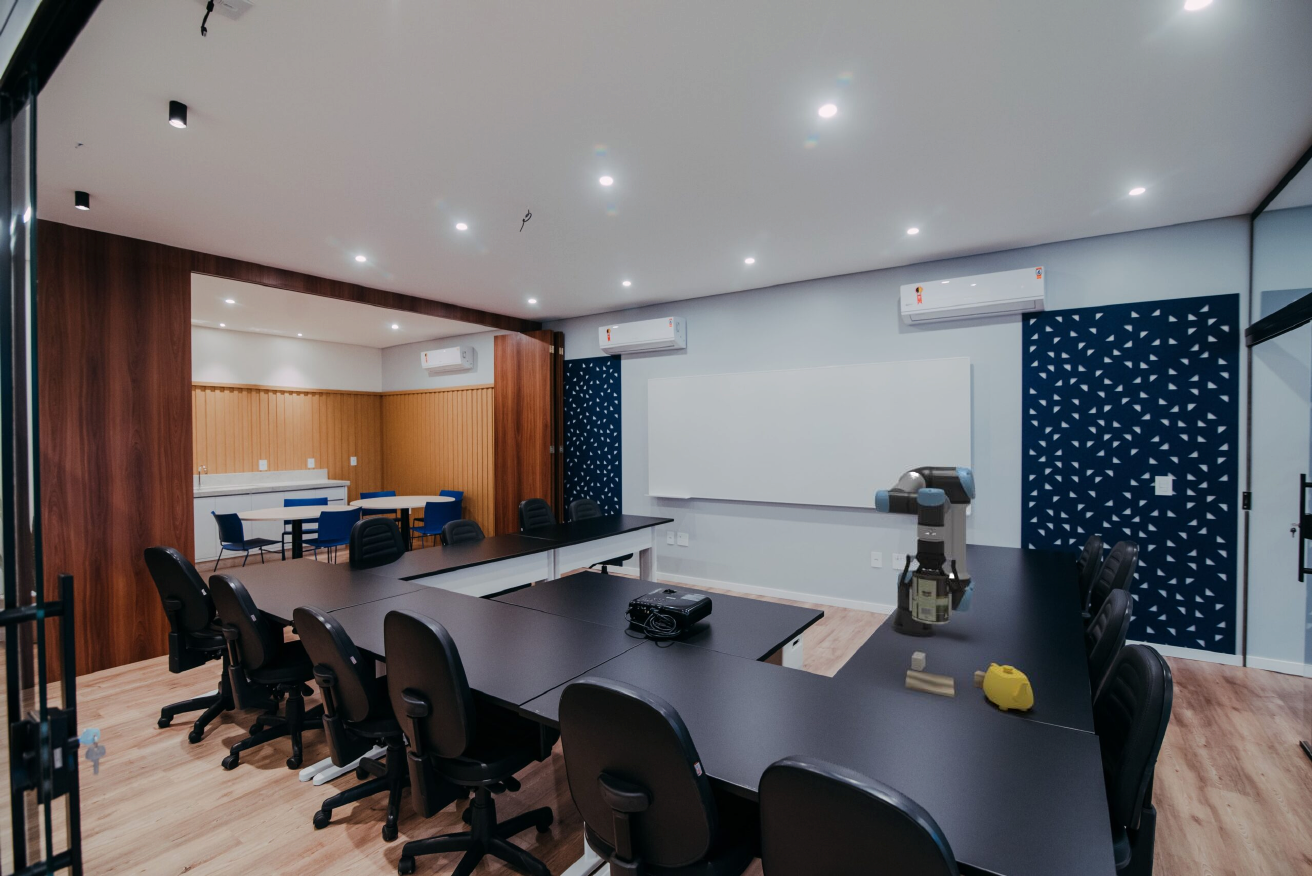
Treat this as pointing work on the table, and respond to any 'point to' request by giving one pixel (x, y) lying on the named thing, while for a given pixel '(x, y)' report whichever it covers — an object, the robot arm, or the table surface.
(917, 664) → the off-white brick
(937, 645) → the table surface
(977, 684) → the beech brick
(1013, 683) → the teapot
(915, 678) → the trivet
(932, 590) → the coffee can
